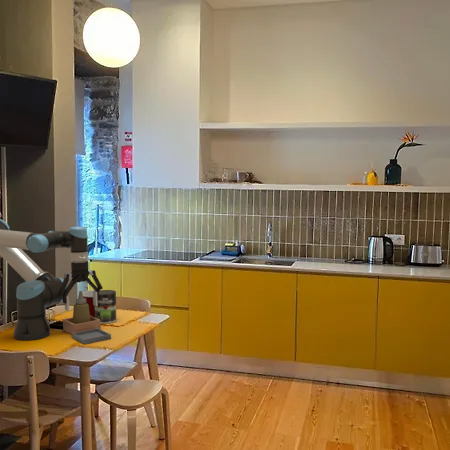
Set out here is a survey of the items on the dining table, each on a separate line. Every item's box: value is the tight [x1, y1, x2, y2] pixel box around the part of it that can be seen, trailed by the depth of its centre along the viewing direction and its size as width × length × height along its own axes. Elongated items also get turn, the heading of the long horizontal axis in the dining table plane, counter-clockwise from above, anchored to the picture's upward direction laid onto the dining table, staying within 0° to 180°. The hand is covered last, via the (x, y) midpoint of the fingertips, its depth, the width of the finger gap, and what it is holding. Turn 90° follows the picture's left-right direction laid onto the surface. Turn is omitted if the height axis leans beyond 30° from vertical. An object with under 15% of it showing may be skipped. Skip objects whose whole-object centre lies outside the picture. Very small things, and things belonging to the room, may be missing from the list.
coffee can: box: [95, 289, 117, 325], centre depth 267 cm, size 10×10×14 cm
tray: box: [71, 328, 112, 345], centre depth 240 cm, size 12×12×2 cm
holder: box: [62, 316, 102, 335], centre depth 252 cm, size 12×12×5 cm
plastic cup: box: [82, 289, 95, 317], centre depth 276 cm, size 11×11×12 cm
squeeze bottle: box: [72, 290, 91, 324], centre depth 251 cm, size 8×8×18 cm
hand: (81, 307), depth 251 cm, fingers open, 13 cm apart
